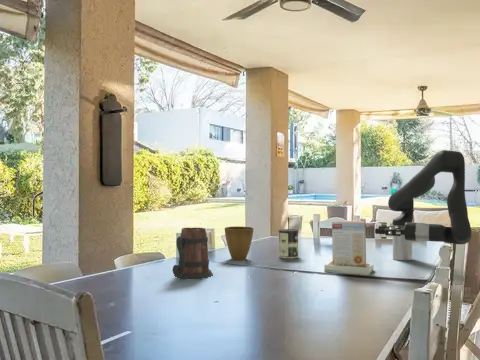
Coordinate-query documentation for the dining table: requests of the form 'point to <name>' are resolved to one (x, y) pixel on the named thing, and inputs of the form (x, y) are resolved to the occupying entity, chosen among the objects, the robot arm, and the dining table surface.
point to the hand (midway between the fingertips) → (376, 229)
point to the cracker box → (349, 243)
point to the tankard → (192, 254)
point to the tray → (348, 269)
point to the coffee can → (288, 243)
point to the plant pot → (238, 241)
